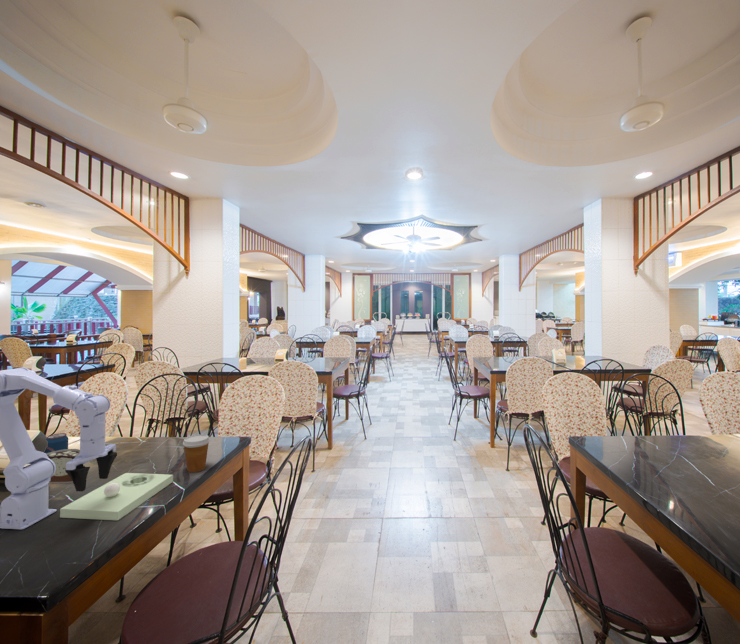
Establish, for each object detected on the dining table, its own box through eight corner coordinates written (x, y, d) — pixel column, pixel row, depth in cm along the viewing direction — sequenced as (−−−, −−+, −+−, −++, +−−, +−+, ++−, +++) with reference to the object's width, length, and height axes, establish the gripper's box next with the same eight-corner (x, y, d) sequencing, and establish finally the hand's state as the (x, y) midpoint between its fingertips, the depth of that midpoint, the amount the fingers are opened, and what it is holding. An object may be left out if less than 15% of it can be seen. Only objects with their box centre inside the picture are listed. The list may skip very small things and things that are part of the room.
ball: (112, 499, 104) (112, 486, 104) (100, 499, 104) (100, 486, 104) (123, 493, 108) (123, 480, 108) (111, 492, 108) (111, 480, 108)
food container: (90, 474, 126) (91, 448, 126) (77, 482, 120) (77, 454, 120) (57, 475, 126) (57, 448, 126) (41, 482, 120) (41, 454, 120)
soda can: (39, 468, 132) (39, 437, 132) (59, 461, 138) (59, 432, 139) (52, 470, 130) (53, 439, 130) (72, 463, 137) (72, 433, 137)
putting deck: (117, 520, 97) (117, 511, 97) (60, 517, 98) (60, 508, 99) (172, 481, 121) (172, 474, 121) (125, 479, 122) (125, 472, 122)
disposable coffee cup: (179, 475, 126) (179, 443, 126) (186, 465, 135) (186, 435, 135) (207, 472, 129) (207, 441, 129) (211, 462, 138) (212, 433, 138)
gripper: (83, 447, 92) (82, 497, 92) (125, 430, 106) (125, 473, 106) (58, 446, 92) (58, 496, 92) (104, 430, 107) (103, 473, 107)
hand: (92, 484), depth 99 cm, fingers open, 7 cm apart
